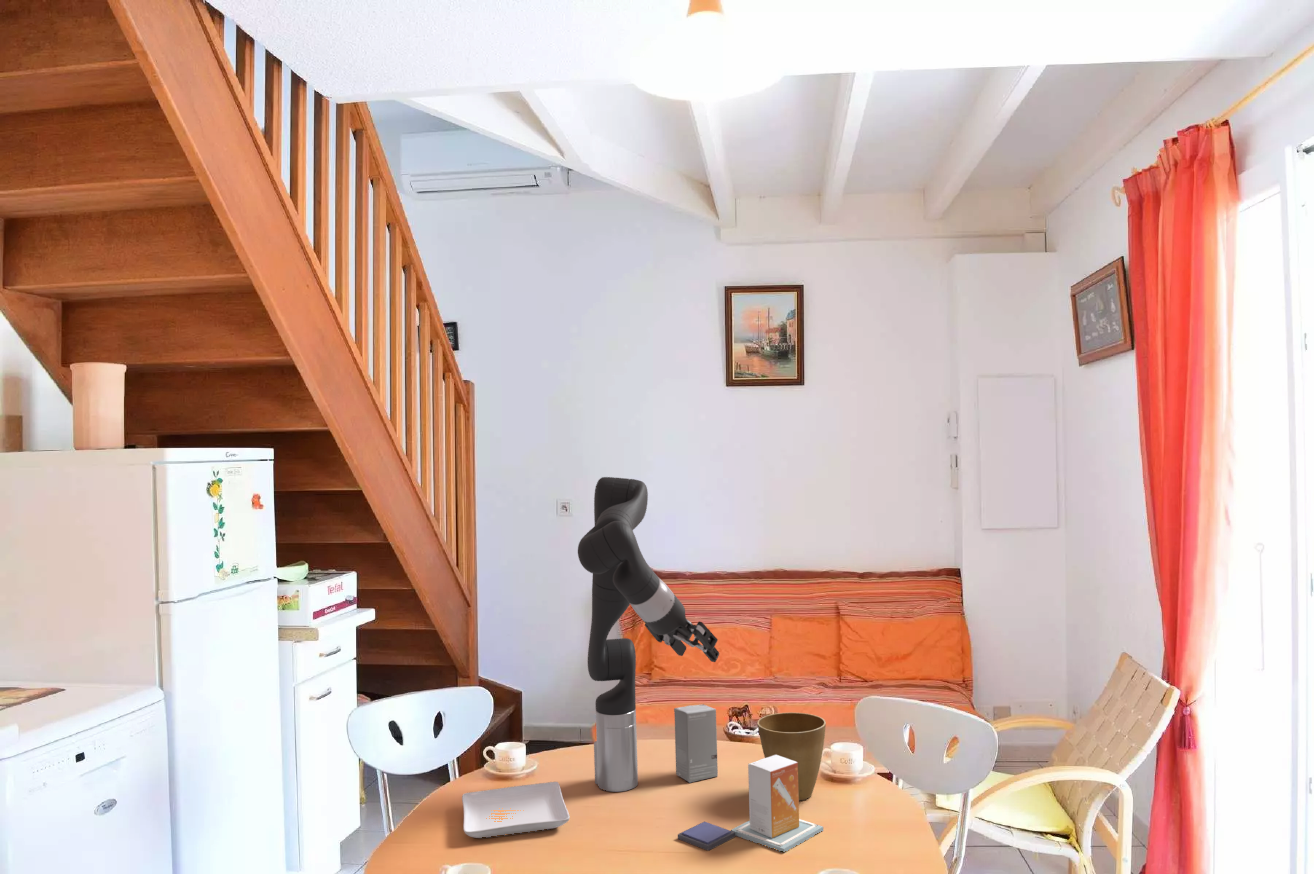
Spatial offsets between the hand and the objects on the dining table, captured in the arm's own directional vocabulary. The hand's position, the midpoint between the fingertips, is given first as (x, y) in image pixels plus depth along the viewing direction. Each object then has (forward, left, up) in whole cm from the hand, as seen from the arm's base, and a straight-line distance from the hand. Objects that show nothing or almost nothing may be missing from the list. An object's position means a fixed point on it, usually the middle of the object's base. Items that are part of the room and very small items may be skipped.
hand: (699, 654), depth 174 cm
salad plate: (-39, -16, -37) cm, 56 cm away
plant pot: (-2, +32, -37) cm, 49 cm away
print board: (+7, +14, -37) cm, 40 cm away
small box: (+7, +13, -36) cm, 39 cm away
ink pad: (-2, +3, -37) cm, 37 cm away
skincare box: (-26, +27, -37) cm, 52 cm away
